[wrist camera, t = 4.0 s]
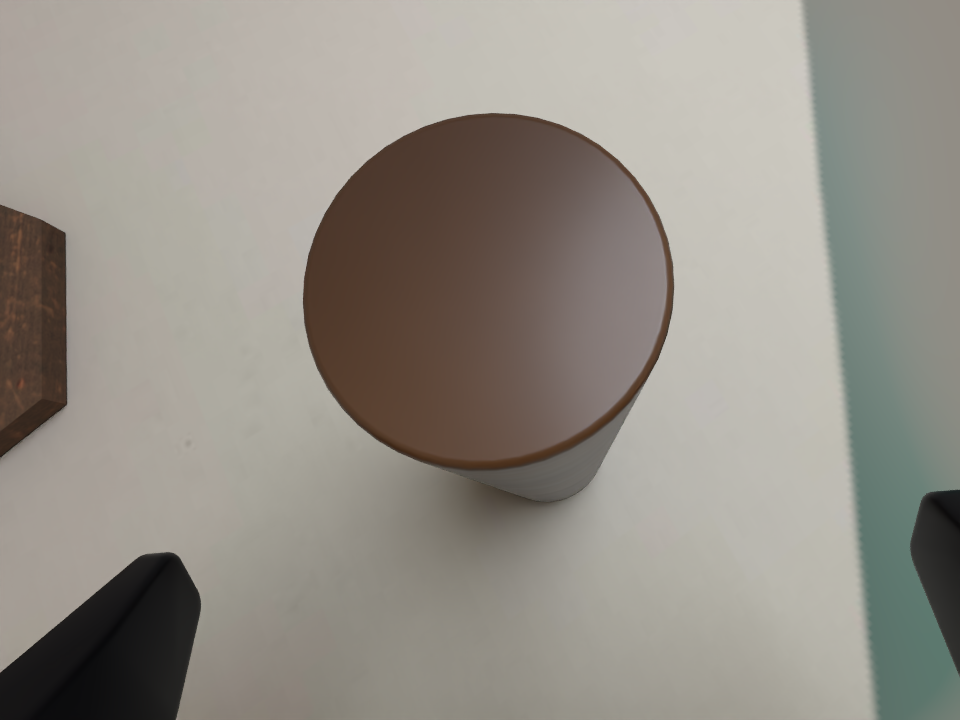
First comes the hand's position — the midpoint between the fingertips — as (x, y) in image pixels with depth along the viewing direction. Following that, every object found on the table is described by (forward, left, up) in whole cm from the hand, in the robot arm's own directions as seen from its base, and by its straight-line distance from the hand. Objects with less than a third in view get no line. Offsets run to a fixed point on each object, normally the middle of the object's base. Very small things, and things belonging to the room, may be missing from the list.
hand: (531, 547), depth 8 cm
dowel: (+2, -1, -9) cm, 10 cm away
